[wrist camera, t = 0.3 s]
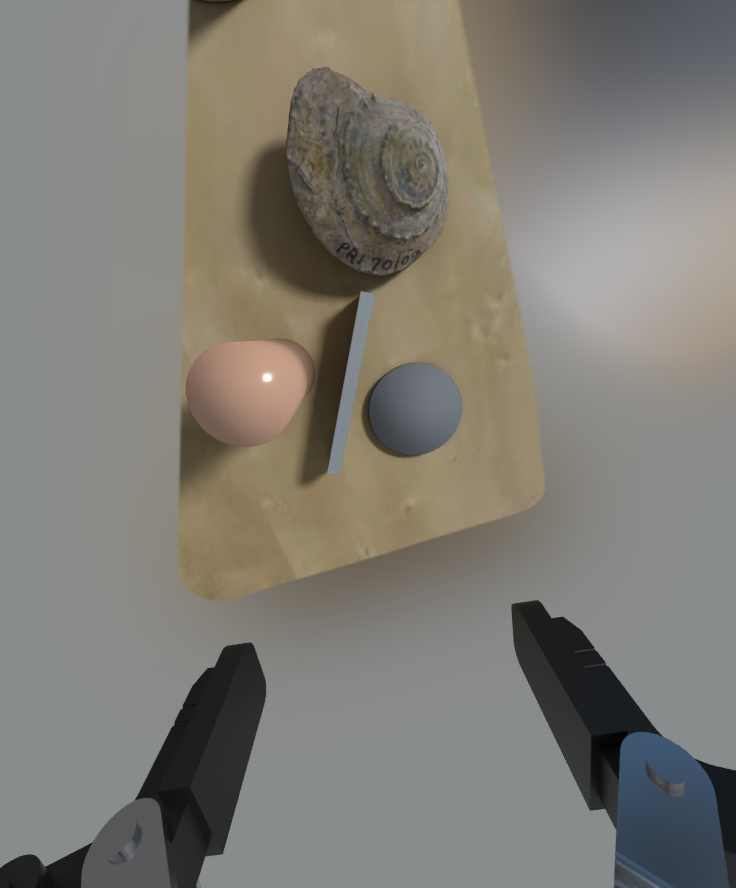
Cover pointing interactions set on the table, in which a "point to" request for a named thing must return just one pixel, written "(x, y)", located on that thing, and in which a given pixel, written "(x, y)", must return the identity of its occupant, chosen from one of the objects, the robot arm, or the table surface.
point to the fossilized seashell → (365, 173)
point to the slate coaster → (415, 408)
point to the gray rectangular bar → (350, 380)
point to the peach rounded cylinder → (249, 389)
